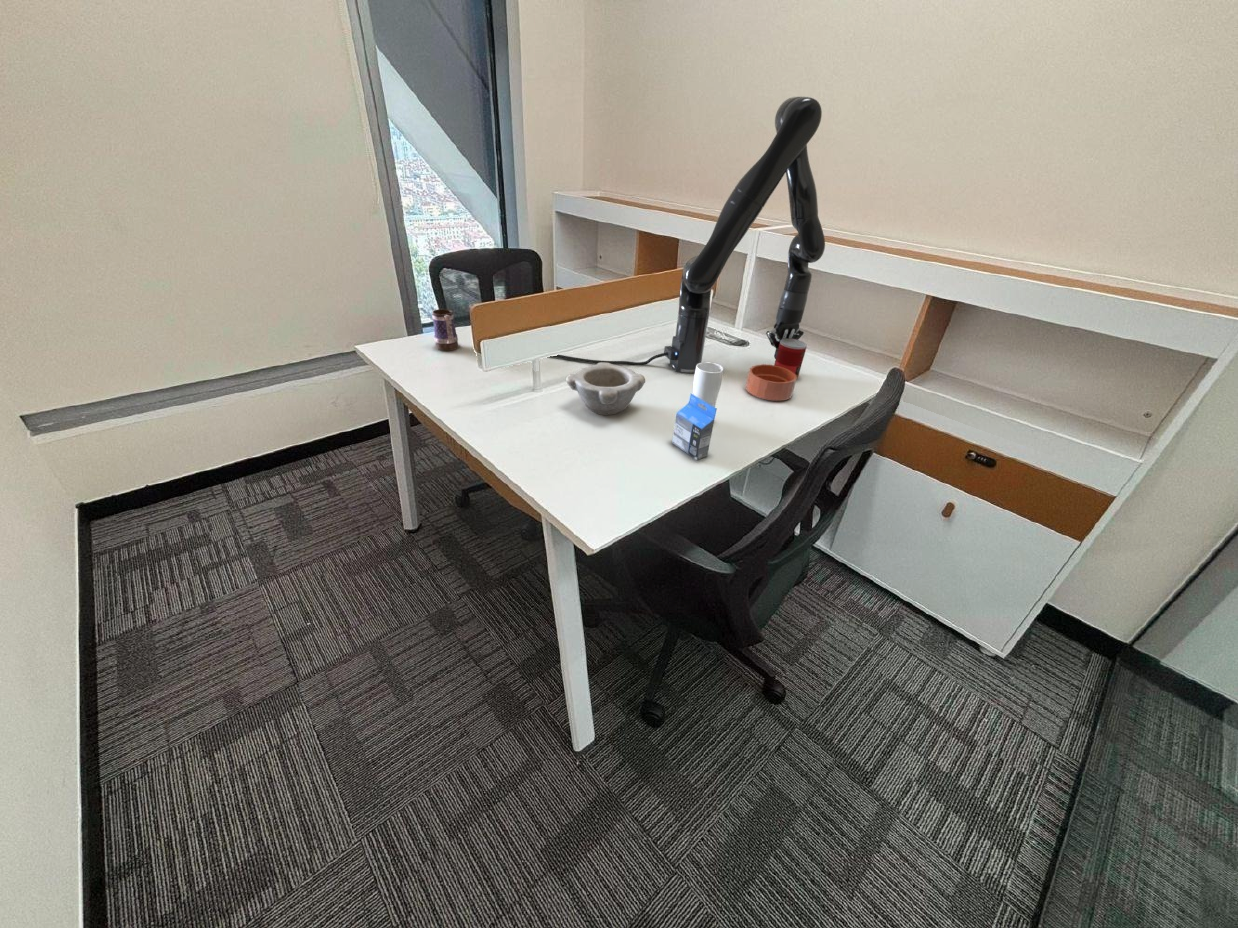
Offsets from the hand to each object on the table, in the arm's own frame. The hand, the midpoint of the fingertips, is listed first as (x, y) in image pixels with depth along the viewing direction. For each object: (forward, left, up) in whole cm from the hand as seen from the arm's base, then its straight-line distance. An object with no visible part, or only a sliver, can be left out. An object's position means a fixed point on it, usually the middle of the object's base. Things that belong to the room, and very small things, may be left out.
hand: (778, 359), depth 160 cm
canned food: (0, -5, -4) cm, 6 cm away
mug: (-100, +36, -4) cm, 106 cm away
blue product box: (-50, -39, -4) cm, 63 cm away
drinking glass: (-41, -27, -4) cm, 49 cm away
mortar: (-63, -14, -4) cm, 64 cm away
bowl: (-12, -15, -4) cm, 19 cm away
